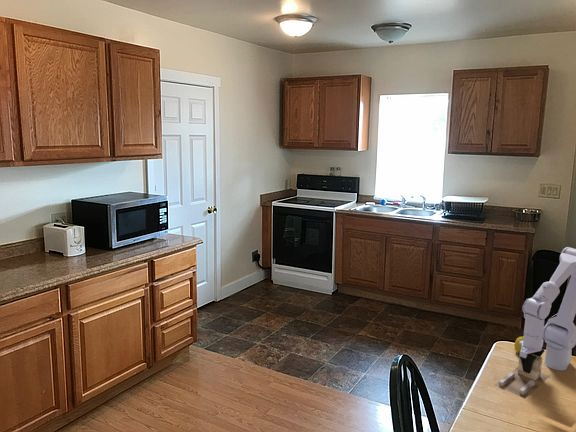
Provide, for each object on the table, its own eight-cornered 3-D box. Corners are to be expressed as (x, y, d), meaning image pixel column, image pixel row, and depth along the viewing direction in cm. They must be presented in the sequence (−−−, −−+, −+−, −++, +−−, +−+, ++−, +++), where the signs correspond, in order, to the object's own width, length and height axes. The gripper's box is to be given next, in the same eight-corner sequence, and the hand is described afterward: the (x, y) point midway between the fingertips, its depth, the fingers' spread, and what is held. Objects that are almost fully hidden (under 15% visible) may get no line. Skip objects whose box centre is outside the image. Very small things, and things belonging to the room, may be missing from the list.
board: (520, 367, 172) (520, 361, 171) (549, 379, 165) (550, 371, 164) (494, 388, 159) (494, 380, 158) (524, 401, 152) (525, 393, 151)
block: (522, 369, 168) (524, 351, 167) (540, 376, 164) (542, 357, 162) (517, 373, 166) (519, 354, 164) (535, 380, 161) (537, 361, 160)
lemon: (531, 360, 177) (533, 340, 176) (515, 358, 178) (517, 339, 177) (527, 353, 183) (529, 333, 181) (511, 351, 184) (513, 332, 182)
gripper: (530, 323, 169) (526, 358, 172) (512, 335, 160) (508, 372, 163) (551, 330, 164) (547, 366, 167) (533, 342, 155) (529, 380, 157)
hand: (529, 369), depth 164 cm, fingers closed on block, 4 cm apart
